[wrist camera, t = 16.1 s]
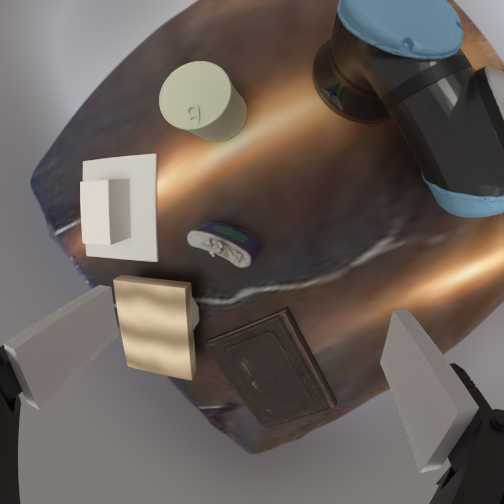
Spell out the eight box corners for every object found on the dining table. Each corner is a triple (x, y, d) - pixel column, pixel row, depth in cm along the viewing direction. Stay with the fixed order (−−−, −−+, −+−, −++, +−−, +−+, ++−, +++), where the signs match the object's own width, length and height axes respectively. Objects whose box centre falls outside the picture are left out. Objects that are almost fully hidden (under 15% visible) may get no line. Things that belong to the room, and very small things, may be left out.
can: (191, 146, 43) (158, 136, 31) (188, 93, 41) (155, 69, 29) (250, 138, 41) (234, 122, 30) (244, 83, 40) (227, 52, 28)
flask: (203, 232, 46) (178, 246, 35) (210, 215, 45) (186, 224, 35) (257, 255, 45) (247, 276, 35) (264, 238, 45) (256, 254, 34)
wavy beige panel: (121, 275, 43) (113, 279, 41) (191, 282, 41) (185, 288, 39) (134, 359, 47) (127, 366, 44) (196, 371, 45) (192, 380, 43)
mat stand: (85, 161, 46) (60, 160, 39) (157, 153, 44) (136, 150, 37) (88, 255, 50) (65, 264, 43) (158, 261, 48) (139, 273, 41)
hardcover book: (264, 421, 54) (263, 428, 52) (207, 338, 51) (203, 344, 49) (336, 398, 50) (337, 406, 48) (288, 305, 47) (287, 311, 45)
